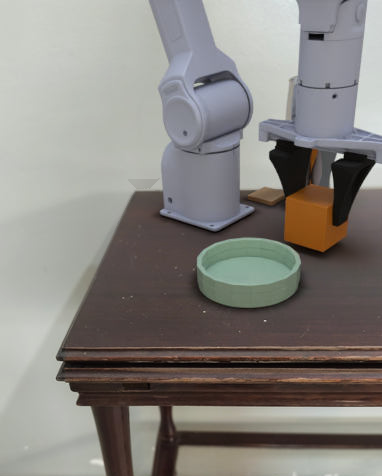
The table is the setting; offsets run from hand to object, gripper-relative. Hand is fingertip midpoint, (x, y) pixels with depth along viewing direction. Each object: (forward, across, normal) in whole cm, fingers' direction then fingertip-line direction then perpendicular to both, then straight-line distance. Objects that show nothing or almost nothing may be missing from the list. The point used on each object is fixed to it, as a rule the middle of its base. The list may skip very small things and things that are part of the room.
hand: (316, 217), depth 62 cm
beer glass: (+4, -7, +10) cm, 13 cm away
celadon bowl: (+3, -1, -11) cm, 12 cm away
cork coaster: (+3, -12, +9) cm, 16 cm away
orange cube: (+2, 0, 0) cm, 2 cm away
